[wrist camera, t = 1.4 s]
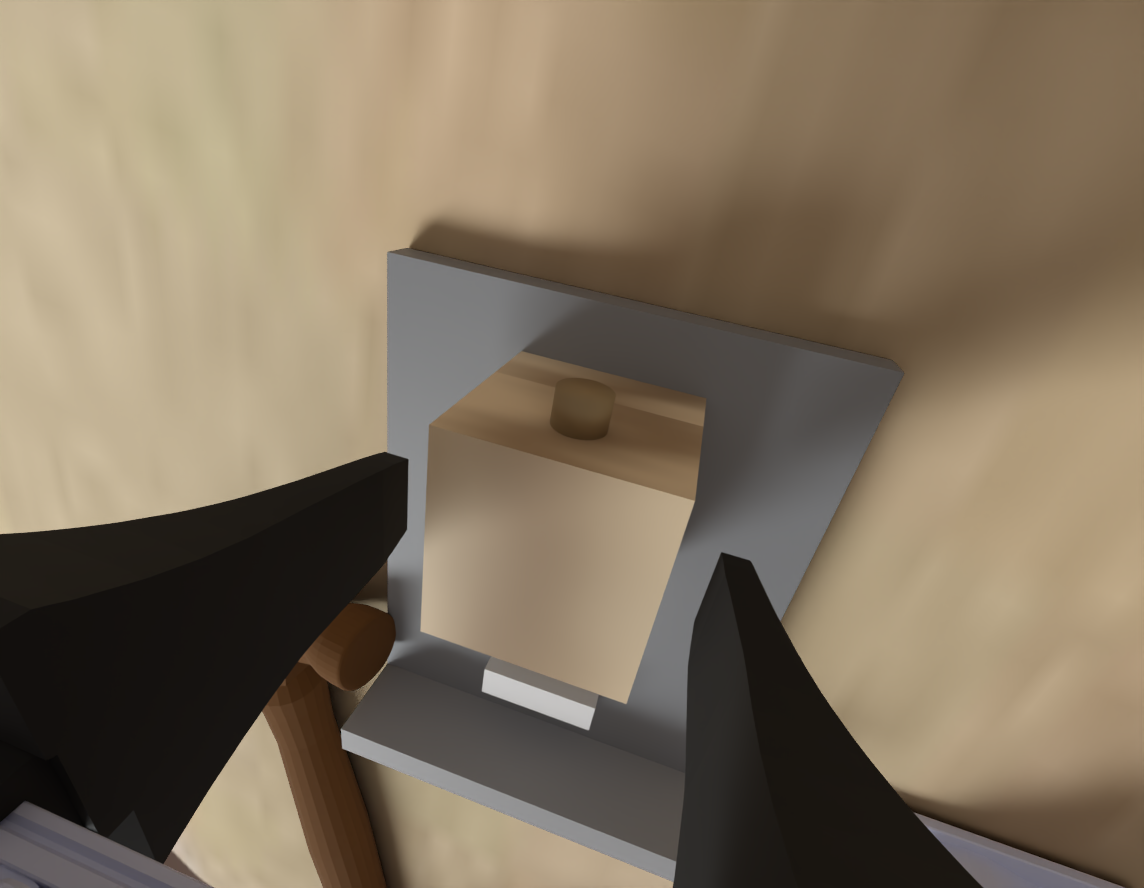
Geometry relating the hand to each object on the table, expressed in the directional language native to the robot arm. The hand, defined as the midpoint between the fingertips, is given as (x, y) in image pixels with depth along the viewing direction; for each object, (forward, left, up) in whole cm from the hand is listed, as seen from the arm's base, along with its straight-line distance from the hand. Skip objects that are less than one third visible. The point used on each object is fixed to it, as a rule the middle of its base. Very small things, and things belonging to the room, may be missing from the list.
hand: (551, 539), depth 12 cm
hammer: (+10, +24, -5) cm, 26 cm away
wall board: (0, +5, -5) cm, 7 cm away
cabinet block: (0, 0, -4) cm, 4 cm away
